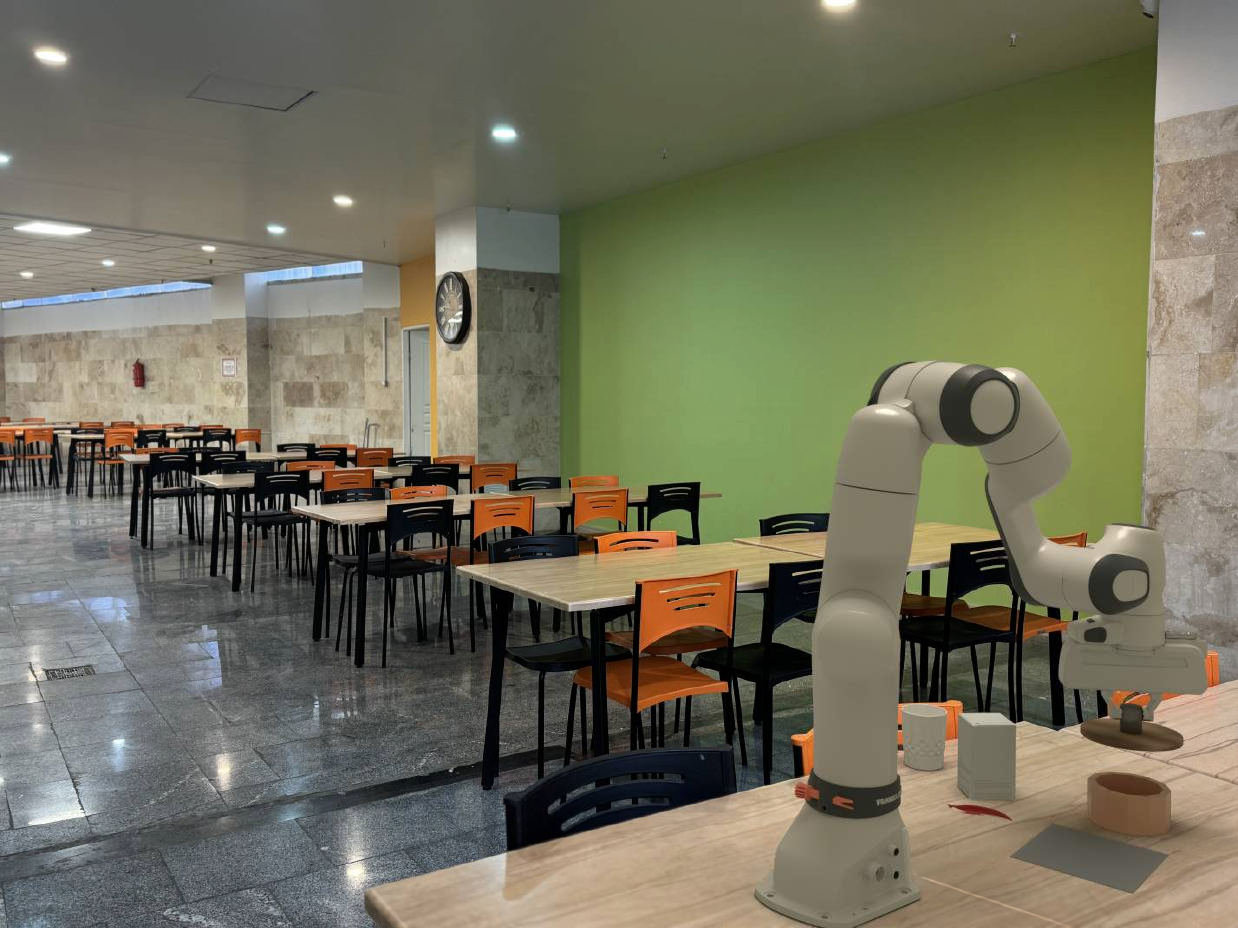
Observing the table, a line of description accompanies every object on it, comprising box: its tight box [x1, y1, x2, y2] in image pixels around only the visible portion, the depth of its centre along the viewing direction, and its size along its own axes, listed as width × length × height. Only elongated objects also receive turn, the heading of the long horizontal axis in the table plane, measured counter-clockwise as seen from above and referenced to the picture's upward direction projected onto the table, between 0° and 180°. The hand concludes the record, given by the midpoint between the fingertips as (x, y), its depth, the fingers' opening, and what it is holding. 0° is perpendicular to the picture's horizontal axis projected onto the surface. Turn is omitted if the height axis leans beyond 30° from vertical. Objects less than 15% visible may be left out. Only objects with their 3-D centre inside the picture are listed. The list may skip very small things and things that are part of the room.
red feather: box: [947, 803, 1014, 822], centre depth 155 cm, size 12×5×2 cm, turn 36°
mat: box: [1009, 823, 1169, 894], centre depth 140 cm, size 16×16×1 cm
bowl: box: [1086, 771, 1172, 837], centre depth 152 cm, size 11×11×6 cm
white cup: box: [900, 703, 948, 772], centre depth 178 cm, size 8×8×10 cm
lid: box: [1079, 702, 1185, 753], centre depth 151 cm, size 14×14×5 cm
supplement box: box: [956, 712, 1017, 801], centre depth 164 cm, size 7×7×13 cm
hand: (1130, 719), depth 151 cm, fingers closed on lid, 3 cm apart
